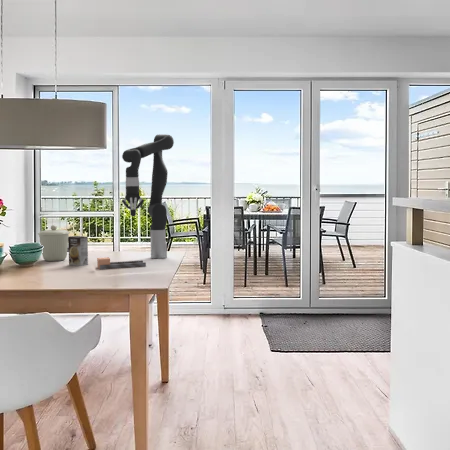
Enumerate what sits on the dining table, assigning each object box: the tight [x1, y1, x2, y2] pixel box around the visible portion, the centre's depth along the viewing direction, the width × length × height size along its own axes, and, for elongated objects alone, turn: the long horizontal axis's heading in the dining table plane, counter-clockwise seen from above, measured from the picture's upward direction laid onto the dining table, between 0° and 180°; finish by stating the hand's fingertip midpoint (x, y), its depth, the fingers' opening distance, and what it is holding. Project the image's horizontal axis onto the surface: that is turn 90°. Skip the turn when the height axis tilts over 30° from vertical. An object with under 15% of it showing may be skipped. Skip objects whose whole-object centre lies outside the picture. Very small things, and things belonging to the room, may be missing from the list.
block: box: [96, 256, 111, 270], centre depth 269 cm, size 6×6×5 cm
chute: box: [99, 260, 147, 270], centre depth 272 cm, size 24×10×3 cm, turn 110°
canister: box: [37, 224, 70, 262], centre depth 304 cm, size 18×18×21 cm
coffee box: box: [68, 235, 89, 267], centre depth 285 cm, size 9×6×16 cm
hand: (133, 216), depth 286 cm, fingers closed
